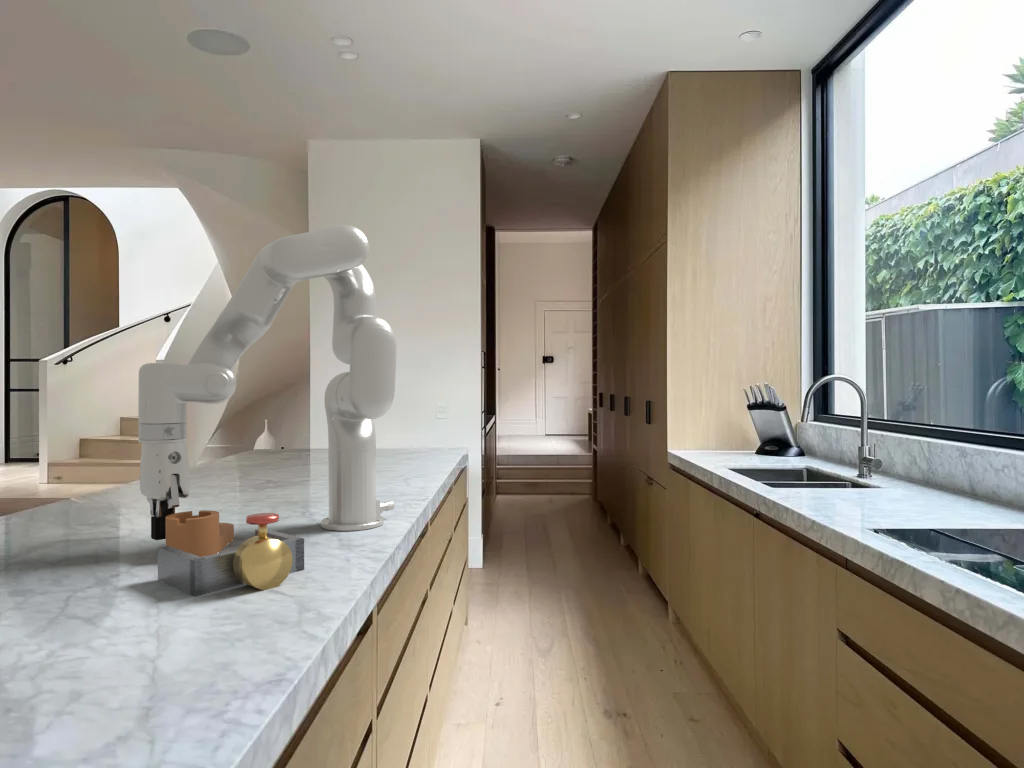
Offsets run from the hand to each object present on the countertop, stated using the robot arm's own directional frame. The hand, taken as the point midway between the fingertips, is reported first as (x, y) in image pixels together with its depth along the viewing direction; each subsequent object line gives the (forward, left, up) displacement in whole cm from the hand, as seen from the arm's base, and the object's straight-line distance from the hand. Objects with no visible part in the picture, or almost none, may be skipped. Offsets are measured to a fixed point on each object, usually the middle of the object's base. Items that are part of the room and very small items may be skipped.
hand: (162, 538), depth 118 cm
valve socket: (0, +24, -2) cm, 24 cm away
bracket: (-5, +3, -3) cm, 7 cm away
